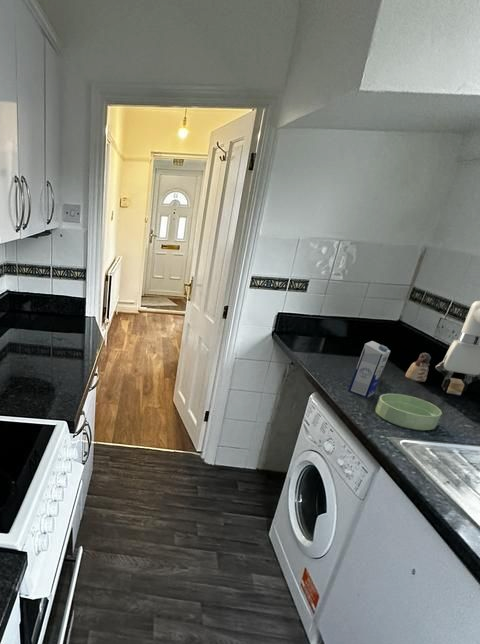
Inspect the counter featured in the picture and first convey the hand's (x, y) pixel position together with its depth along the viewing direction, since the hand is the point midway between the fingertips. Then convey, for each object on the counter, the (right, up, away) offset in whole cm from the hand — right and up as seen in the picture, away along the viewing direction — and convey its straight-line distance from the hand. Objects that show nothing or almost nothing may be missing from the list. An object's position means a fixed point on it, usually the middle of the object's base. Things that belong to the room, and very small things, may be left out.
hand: (452, 390), depth 142 cm
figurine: (+13, +4, +34) cm, 36 cm away
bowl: (-18, -10, -2) cm, 20 cm away
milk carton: (-21, -2, +16) cm, 27 cm away
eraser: (0, 0, 0) cm, 0 cm away
